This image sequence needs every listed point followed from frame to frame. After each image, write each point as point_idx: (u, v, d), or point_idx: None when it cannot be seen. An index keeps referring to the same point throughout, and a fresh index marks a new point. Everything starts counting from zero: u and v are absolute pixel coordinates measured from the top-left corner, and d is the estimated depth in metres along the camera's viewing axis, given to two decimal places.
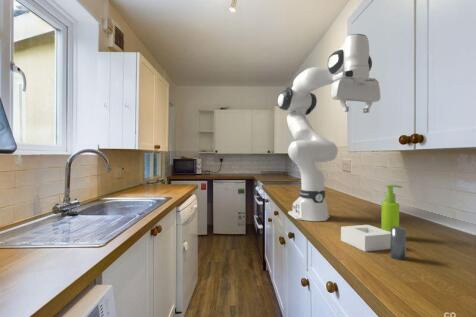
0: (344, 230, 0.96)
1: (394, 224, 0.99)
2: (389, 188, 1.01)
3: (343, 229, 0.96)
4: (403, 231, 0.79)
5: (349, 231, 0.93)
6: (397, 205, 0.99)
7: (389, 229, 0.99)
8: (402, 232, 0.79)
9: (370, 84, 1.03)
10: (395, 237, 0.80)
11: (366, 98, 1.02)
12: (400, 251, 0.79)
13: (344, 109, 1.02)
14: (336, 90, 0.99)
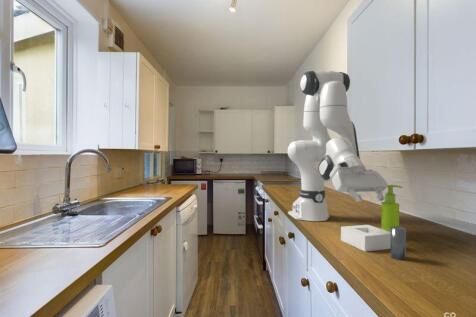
0: (344, 230, 0.96)
1: (394, 224, 0.99)
2: (389, 188, 1.01)
3: (343, 229, 0.96)
4: (403, 231, 0.79)
5: (349, 231, 0.93)
6: (397, 205, 0.99)
7: (389, 229, 0.99)
8: (402, 232, 0.79)
9: (369, 173, 0.99)
10: (395, 237, 0.80)
11: (373, 184, 0.95)
12: (400, 251, 0.79)
13: (356, 198, 0.91)
14: (338, 181, 0.93)
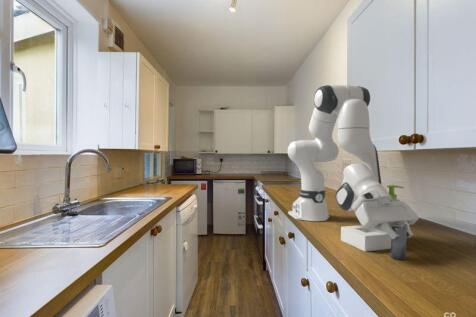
0: (344, 230, 0.96)
1: None
2: (391, 188, 1.01)
3: (343, 229, 0.96)
4: (404, 230, 0.79)
5: (349, 231, 0.93)
6: None
7: None
8: (403, 231, 0.79)
9: (397, 203, 0.88)
10: None
11: (403, 218, 0.83)
12: (400, 251, 0.79)
13: (392, 235, 0.79)
14: (364, 216, 0.81)
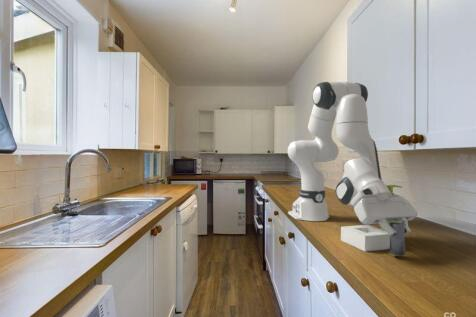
0: (344, 230, 0.96)
1: None
2: (389, 188, 1.01)
3: (343, 229, 0.96)
4: (402, 226, 0.80)
5: (349, 231, 0.93)
6: None
7: None
8: (401, 227, 0.80)
9: (396, 199, 0.88)
10: None
11: (402, 214, 0.83)
12: (399, 247, 0.80)
13: (390, 231, 0.80)
14: (362, 212, 0.82)
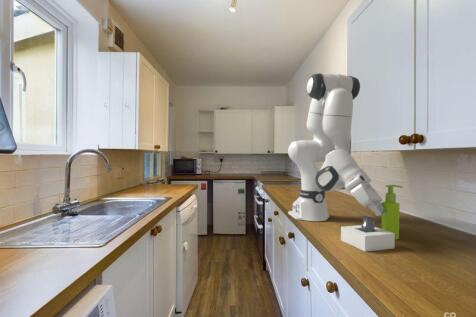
0: (344, 230, 0.96)
1: (394, 223, 0.99)
2: (390, 188, 1.01)
3: (343, 229, 0.96)
4: (374, 219, 0.93)
5: (349, 231, 0.93)
6: (398, 205, 0.99)
7: (390, 229, 0.99)
8: (373, 220, 0.92)
9: (370, 187, 1.04)
10: (366, 224, 0.93)
11: (378, 199, 1.00)
12: None
13: (378, 213, 0.92)
14: (365, 195, 0.91)
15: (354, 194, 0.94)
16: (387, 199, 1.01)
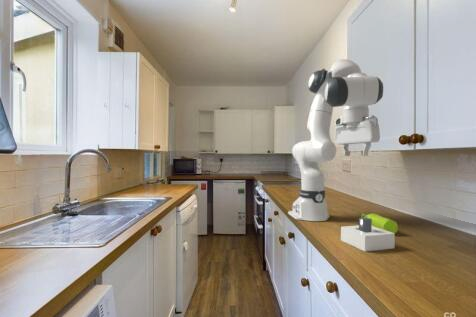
0: (344, 230, 0.96)
1: None
2: (365, 215, 1.23)
3: (343, 229, 0.96)
4: (369, 221, 0.91)
5: (349, 231, 0.93)
6: None
7: (386, 218, 1.08)
8: (368, 222, 0.91)
9: (361, 125, 0.94)
10: (363, 227, 0.92)
11: (357, 141, 0.96)
12: None
13: None
14: None
15: None
16: None
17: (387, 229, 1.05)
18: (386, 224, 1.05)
